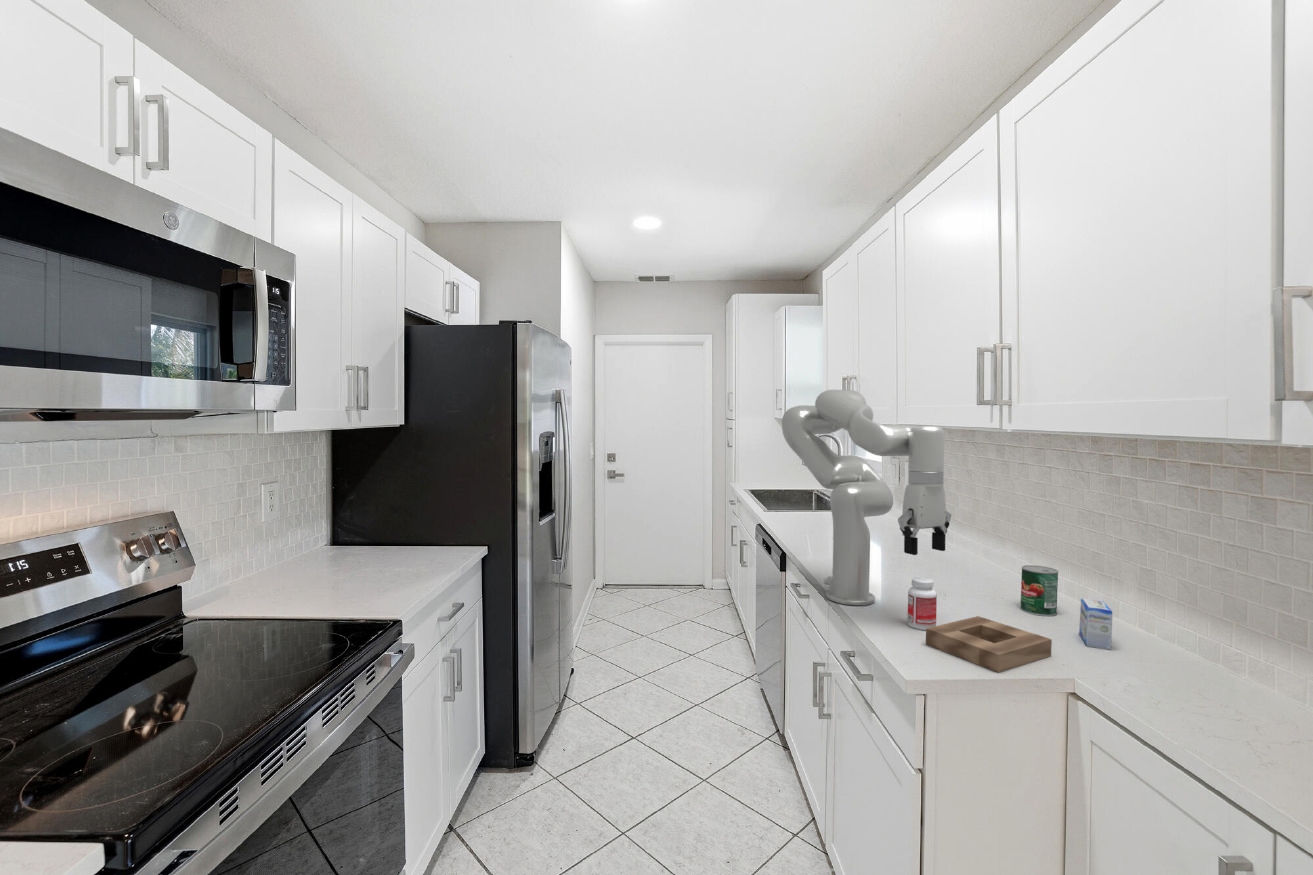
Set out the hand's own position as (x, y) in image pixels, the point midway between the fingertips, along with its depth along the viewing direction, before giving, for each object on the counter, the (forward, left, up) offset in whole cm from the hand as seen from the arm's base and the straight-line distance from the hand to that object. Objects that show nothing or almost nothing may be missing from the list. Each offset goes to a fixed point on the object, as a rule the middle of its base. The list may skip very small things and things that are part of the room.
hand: (924, 551), depth 138 cm
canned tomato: (+6, +37, -18) cm, 41 cm away
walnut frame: (+16, 0, -18) cm, 24 cm away
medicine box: (+24, +26, -18) cm, 39 cm away
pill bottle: (0, 0, -18) cm, 18 cm away
